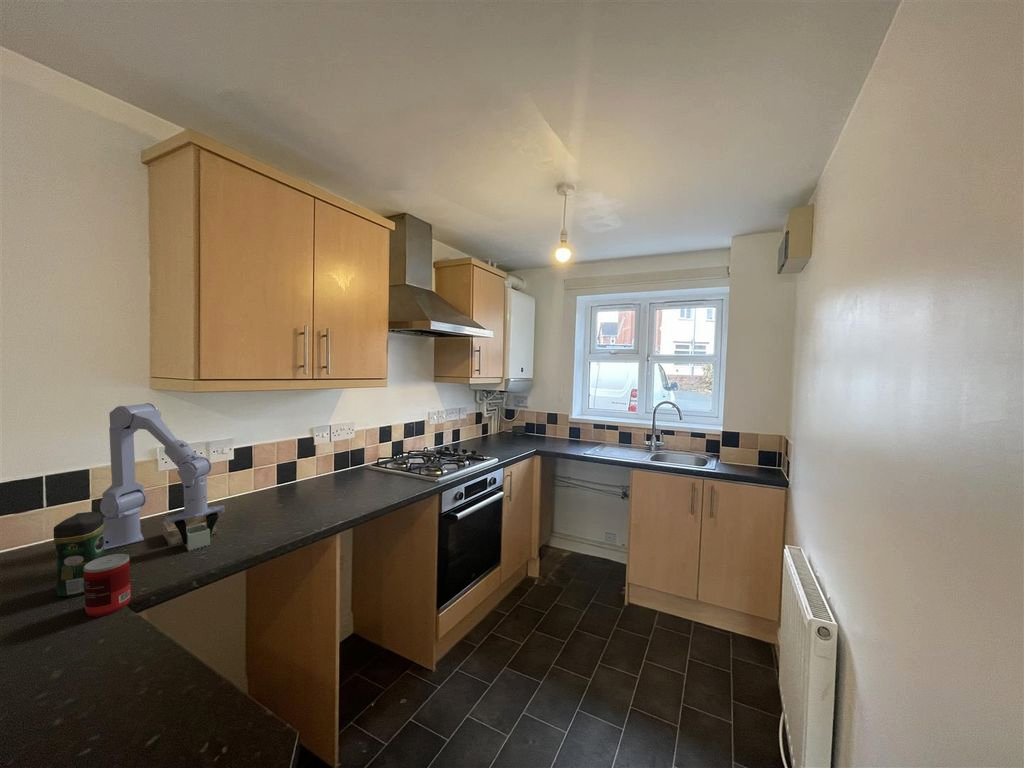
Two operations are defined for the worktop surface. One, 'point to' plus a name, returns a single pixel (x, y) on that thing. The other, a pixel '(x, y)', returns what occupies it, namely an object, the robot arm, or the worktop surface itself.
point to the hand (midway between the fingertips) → (197, 540)
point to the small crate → (197, 537)
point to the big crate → (173, 533)
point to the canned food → (107, 584)
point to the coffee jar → (77, 550)
